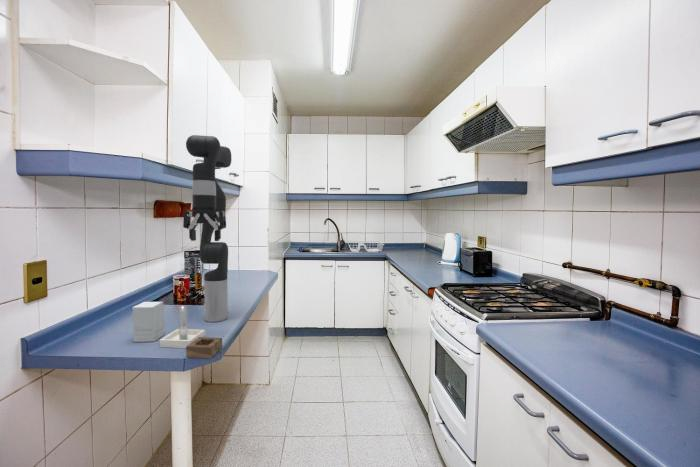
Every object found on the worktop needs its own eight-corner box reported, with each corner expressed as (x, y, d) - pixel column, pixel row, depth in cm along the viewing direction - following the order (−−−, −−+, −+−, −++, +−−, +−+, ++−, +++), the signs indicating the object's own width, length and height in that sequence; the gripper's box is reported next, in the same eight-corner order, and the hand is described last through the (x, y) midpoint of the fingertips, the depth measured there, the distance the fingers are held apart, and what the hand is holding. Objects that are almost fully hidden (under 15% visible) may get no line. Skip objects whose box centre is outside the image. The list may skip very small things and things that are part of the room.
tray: (177, 335, 121) (177, 328, 121) (205, 336, 120) (205, 329, 120) (159, 347, 110) (159, 339, 110) (189, 348, 110) (189, 341, 110)
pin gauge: (182, 337, 117) (181, 305, 116) (189, 338, 116) (188, 305, 116) (177, 340, 114) (177, 307, 113) (184, 341, 114) (184, 307, 113)
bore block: (199, 347, 111) (199, 337, 111) (222, 347, 110) (222, 337, 110) (186, 357, 103) (186, 346, 103) (210, 358, 102) (210, 347, 102)
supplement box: (165, 334, 122) (164, 301, 121) (154, 342, 115) (153, 307, 114) (145, 334, 122) (144, 301, 121) (132, 342, 114) (131, 307, 114)
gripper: (229, 195, 116) (229, 240, 117) (190, 194, 117) (191, 239, 118) (219, 193, 108) (220, 242, 109) (178, 193, 109) (179, 241, 110)
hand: (205, 240), depth 114 cm, fingers open, 8 cm apart
